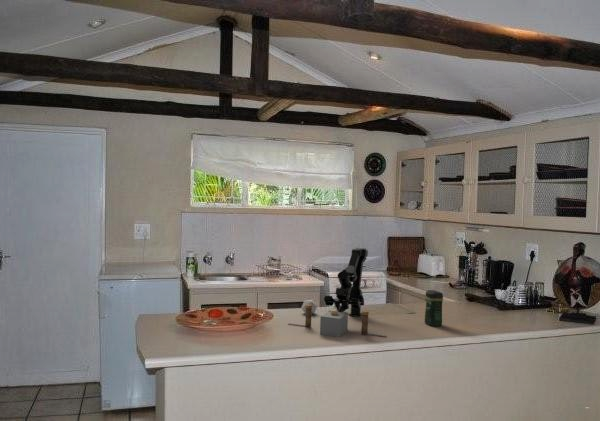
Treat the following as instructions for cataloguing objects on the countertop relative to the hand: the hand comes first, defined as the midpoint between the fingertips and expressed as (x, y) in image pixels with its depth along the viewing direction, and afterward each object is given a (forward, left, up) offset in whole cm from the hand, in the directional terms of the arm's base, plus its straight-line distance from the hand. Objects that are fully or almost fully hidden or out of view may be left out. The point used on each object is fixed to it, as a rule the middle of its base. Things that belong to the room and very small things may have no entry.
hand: (338, 315), depth 258 cm
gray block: (+7, 0, -7) cm, 10 cm away
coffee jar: (-33, +44, -7) cm, 56 cm away
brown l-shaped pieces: (+4, 0, -7) cm, 8 cm away
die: (-24, -25, -7) cm, 36 cm away
